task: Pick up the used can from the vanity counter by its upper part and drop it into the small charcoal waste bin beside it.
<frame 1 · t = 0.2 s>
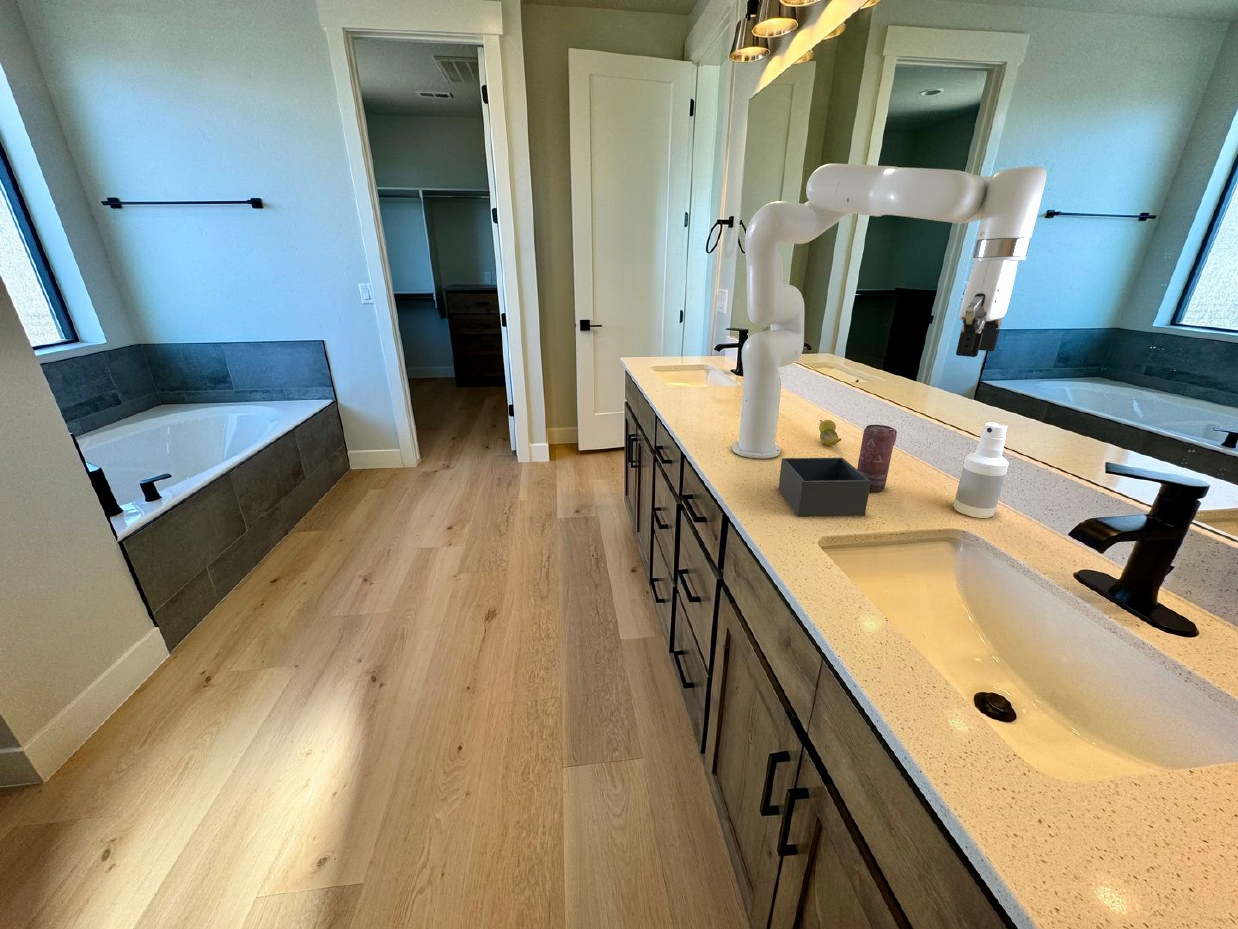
hand: (975, 353, 90), 31 cm above the worktop, tool pointing down, fingers open, 9 cm apart
spray bottle: (972, 511, 99), on the worktop
can: (869, 488, 110), on the worktop
bin: (818, 501, 103), on the worktop
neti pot: (827, 444, 138), on the worktop
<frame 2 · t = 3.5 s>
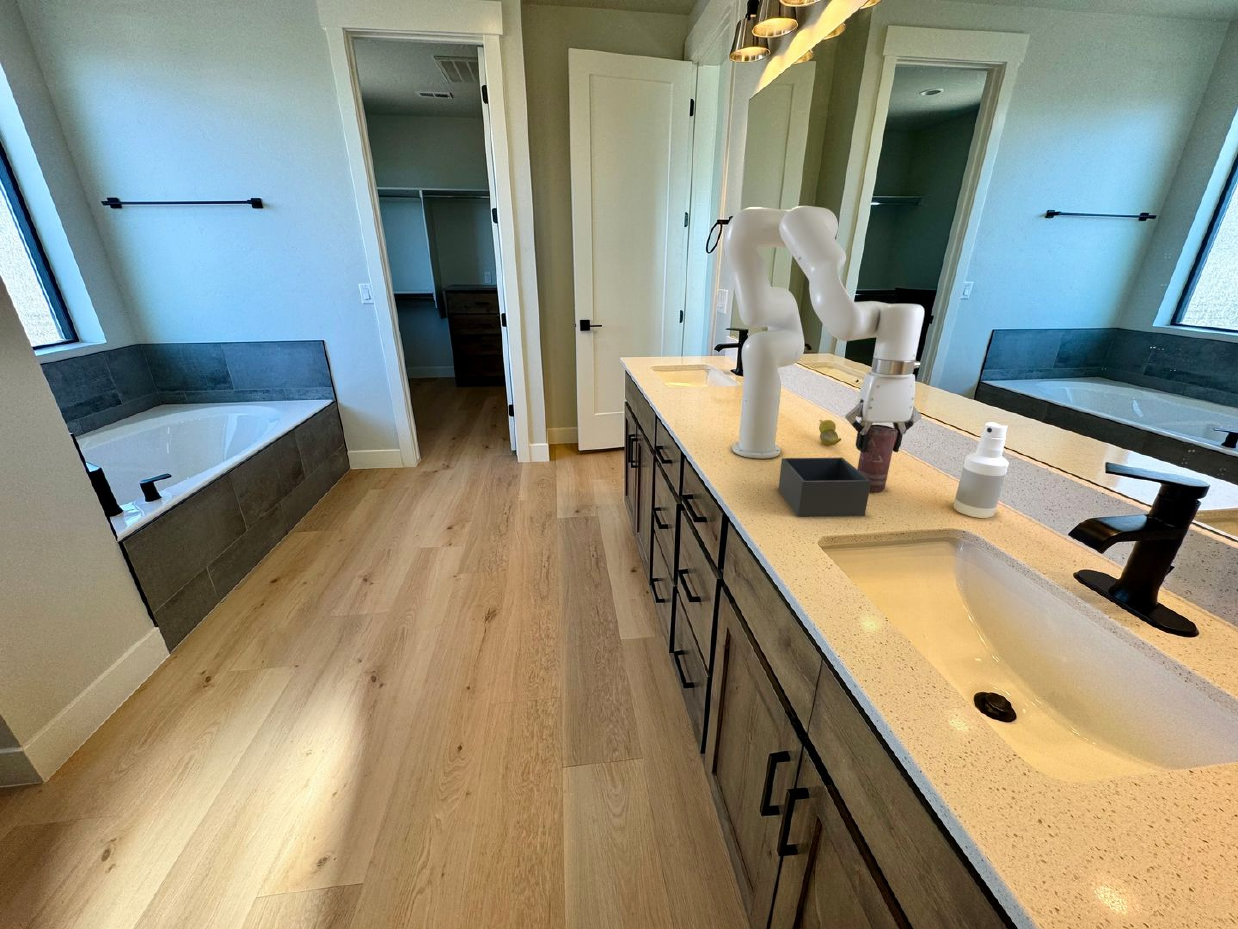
hand: (877, 449, 107), 9 cm above the worktop, tool pointing down, fingers closed on can, 6 cm apart
can: (869, 488, 110), on the worktop, touching gripper
everything else where it was.
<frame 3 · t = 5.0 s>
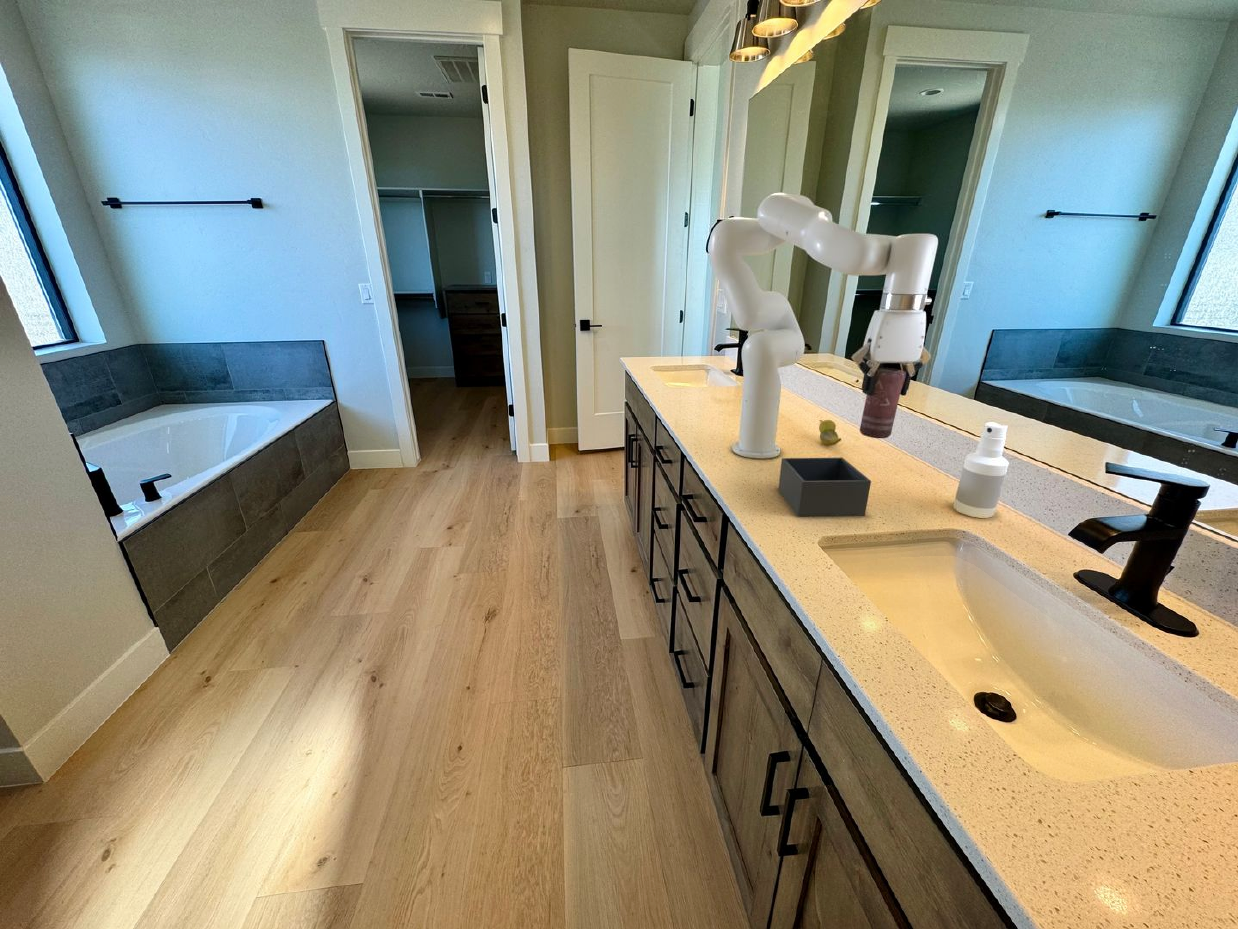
hand: (883, 393, 102), 21 cm above the worktop, tool pointing down, fingers closed on can, 6 cm apart
can: (875, 435, 106), point 12 cm above the worktop, touching gripper
everything else where it was.
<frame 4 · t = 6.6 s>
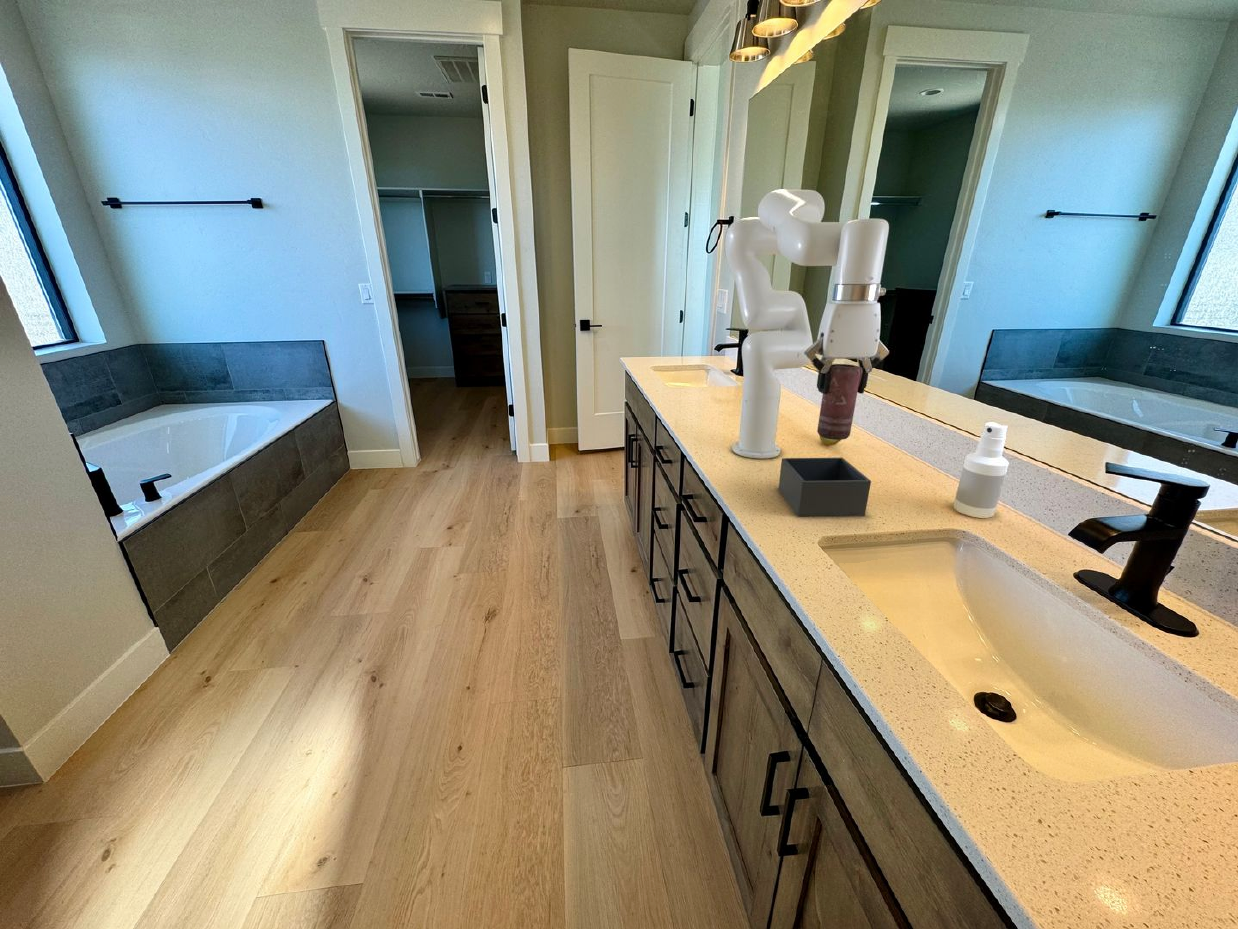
hand: (840, 391, 96), 23 cm above the worktop, tool pointing down, fingers closed on can, 6 cm apart
can: (833, 436, 99), point 14 cm above the worktop, touching gripper
everything else where it was.
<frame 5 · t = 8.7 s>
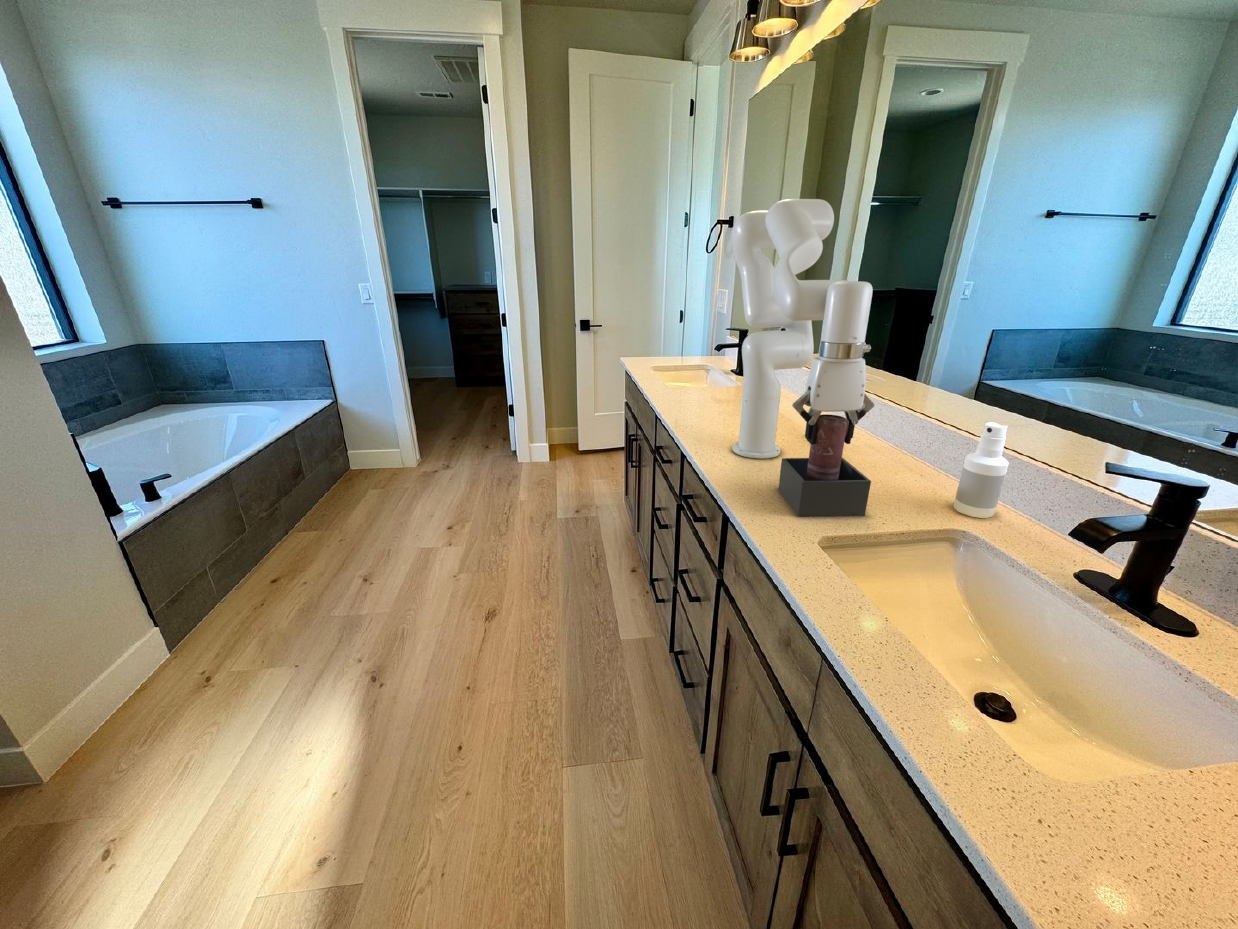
hand: (827, 441, 99), 13 cm above the worktop, tool pointing down, fingers closed on can, 6 cm apart
can: (821, 483, 102), point 4 cm above the worktop, touching gripper
everything else where it was.
when the fingers open (10 cm above the worktop, at t = 10.3 s): can stays where it is, resting on bin.
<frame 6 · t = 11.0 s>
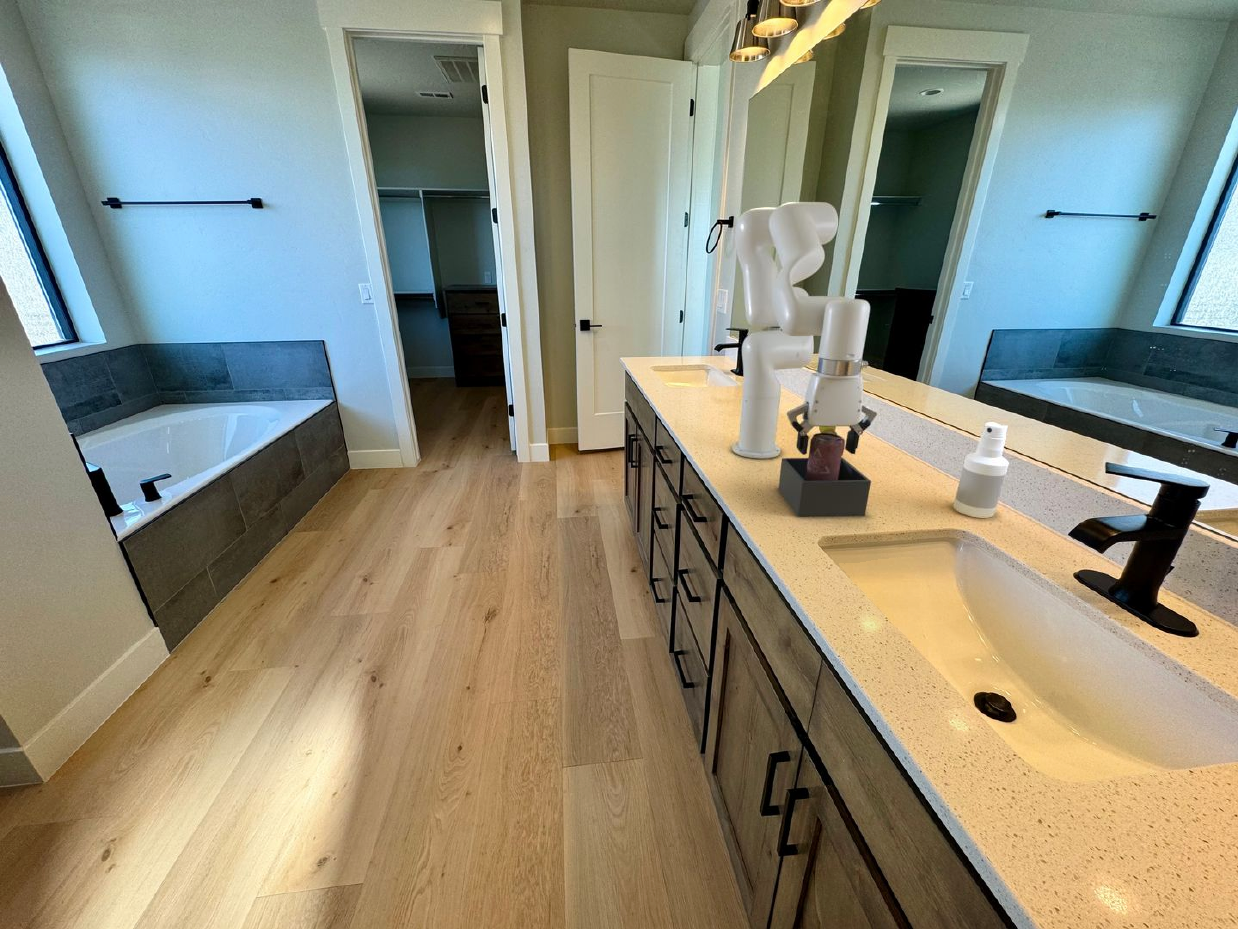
hand: (825, 452, 100), 11 cm above the worktop, tool pointing down, fingers open, 9 cm apart
can: (819, 500, 103), resting on bin
everything else where it was.
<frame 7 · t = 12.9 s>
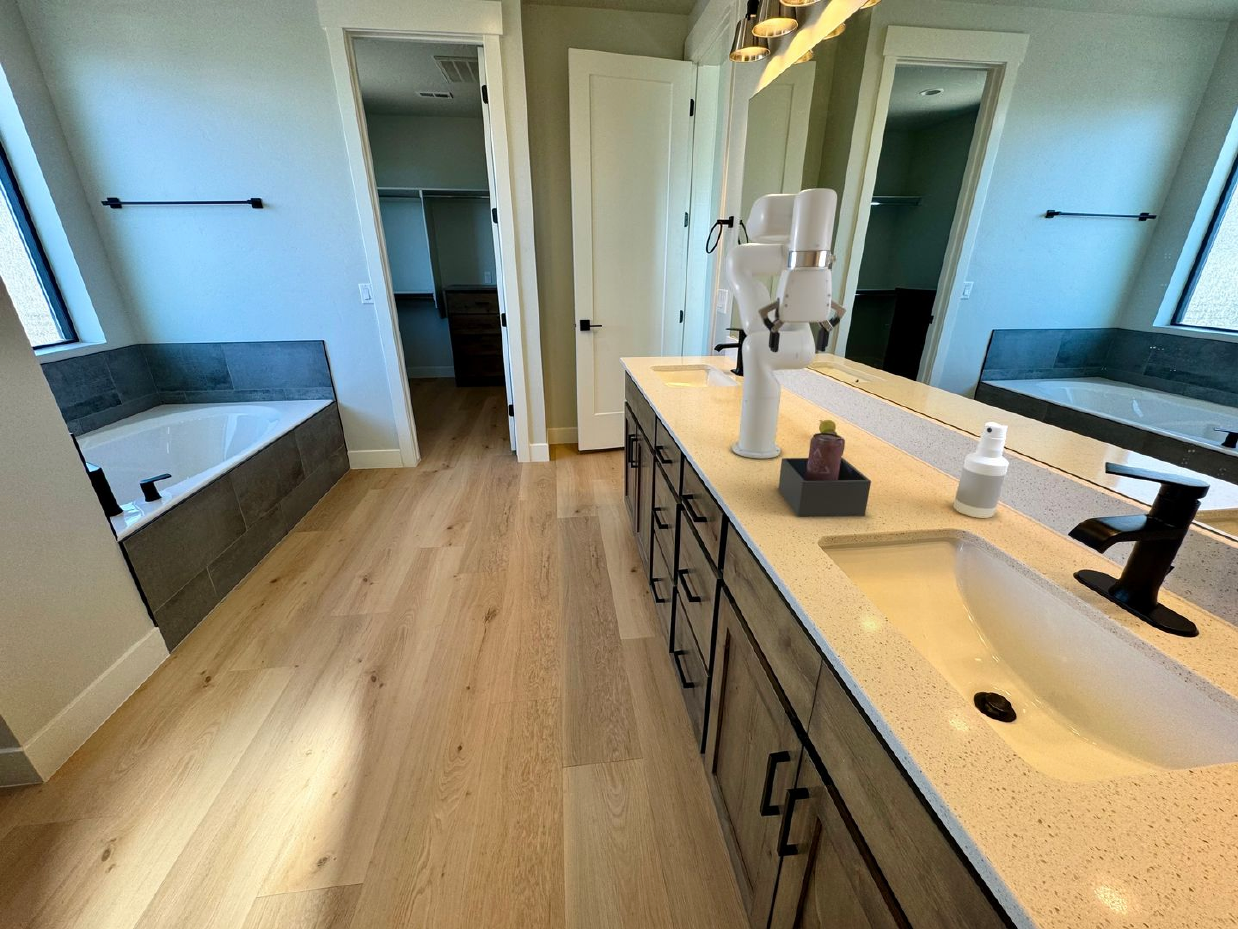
hand: (797, 351, 102), 30 cm above the worktop, tool pointing down, fingers open, 9 cm apart
nothing on the worktop moved.
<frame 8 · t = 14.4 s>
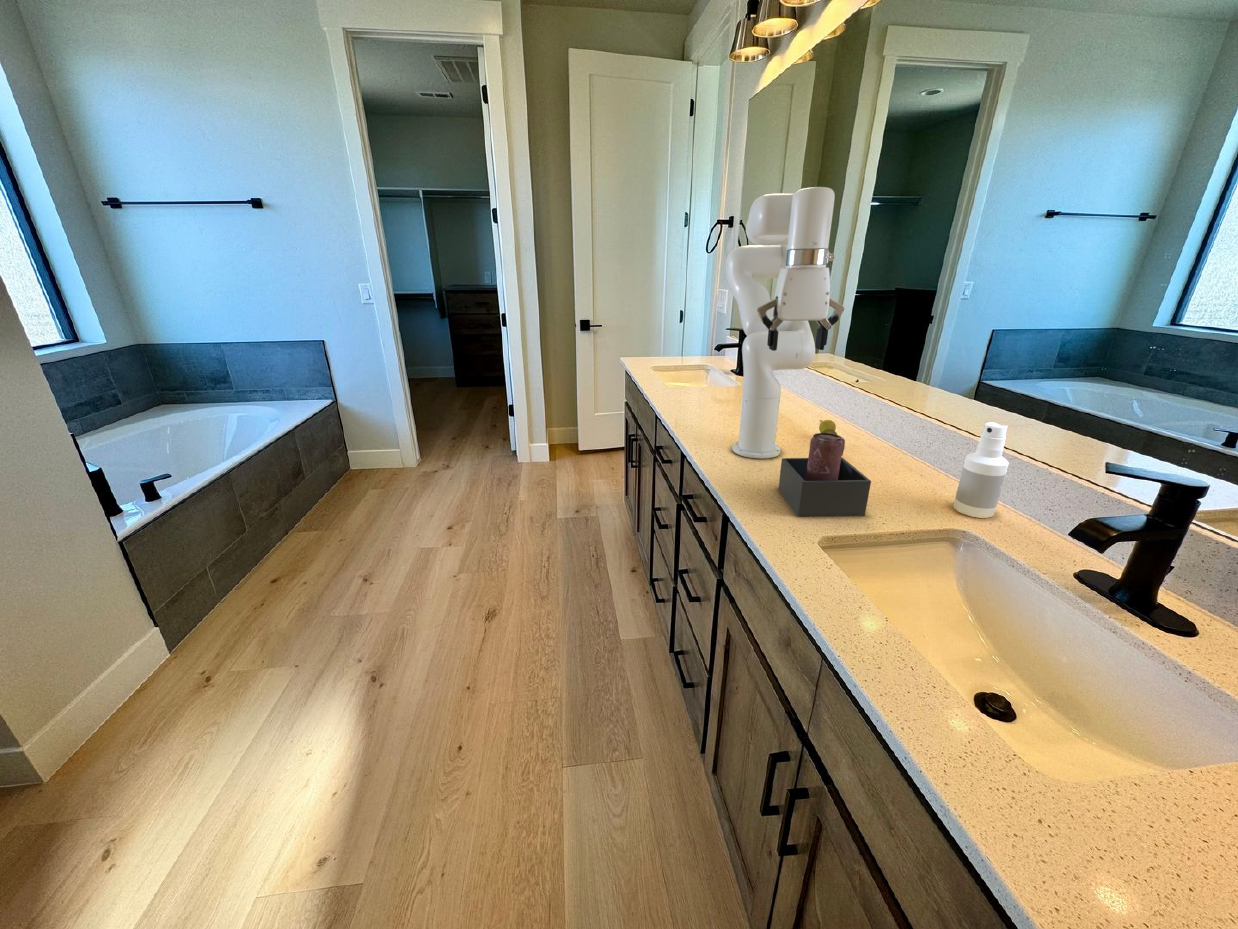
hand: (796, 349, 102), 30 cm above the worktop, tool pointing down, fingers open, 9 cm apart
nothing on the worktop moved.
at the end: can inside the target area in the bin (0.0 cm from its centre), point 0.3 cm above the bin's base; the gripper is holding nothing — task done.
